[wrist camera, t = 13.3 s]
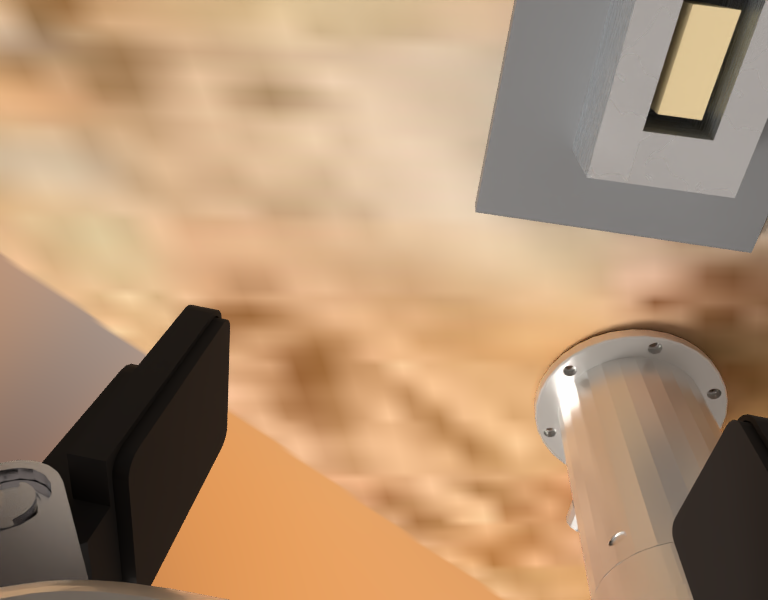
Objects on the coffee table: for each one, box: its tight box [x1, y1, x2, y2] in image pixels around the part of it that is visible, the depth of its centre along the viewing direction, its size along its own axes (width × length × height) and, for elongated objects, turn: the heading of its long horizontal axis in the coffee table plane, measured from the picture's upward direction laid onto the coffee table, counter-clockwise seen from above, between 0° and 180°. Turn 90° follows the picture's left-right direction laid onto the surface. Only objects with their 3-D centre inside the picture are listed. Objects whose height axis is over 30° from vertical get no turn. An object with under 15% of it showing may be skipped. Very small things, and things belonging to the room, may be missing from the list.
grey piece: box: [475, 0, 768, 253], centre depth 30 cm, size 20×16×6 cm
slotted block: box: [572, 0, 768, 198], centre depth 29 cm, size 11×7×5 cm, turn 174°
